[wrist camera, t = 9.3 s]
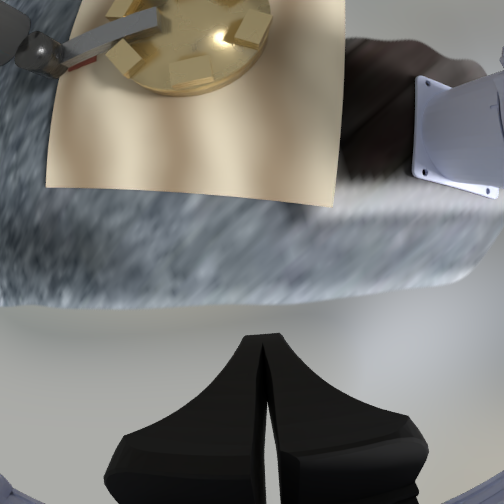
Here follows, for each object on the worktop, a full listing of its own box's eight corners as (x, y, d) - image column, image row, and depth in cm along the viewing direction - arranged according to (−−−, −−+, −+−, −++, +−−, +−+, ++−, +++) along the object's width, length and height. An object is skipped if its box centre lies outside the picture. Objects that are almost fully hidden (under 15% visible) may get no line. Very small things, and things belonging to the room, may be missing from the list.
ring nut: (282, 82, 16) (293, 46, 11) (62, 137, 17) (12, 131, 11) (255, -31, 14) (256, -78, 8) (62, 26, 14) (24, 1, 9)
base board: (338, -43, 14) (343, -54, 13) (326, 205, 20) (333, 208, 18) (110, -41, 14) (103, -50, 12) (56, 186, 19) (44, 187, 18)
